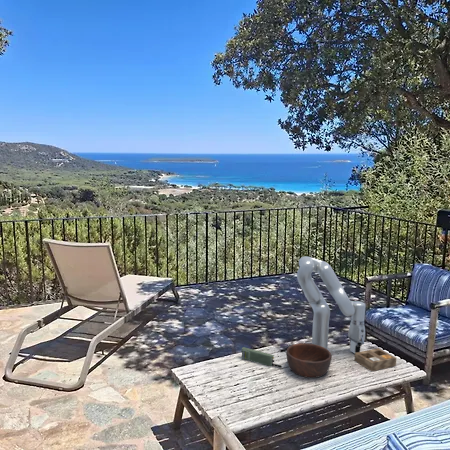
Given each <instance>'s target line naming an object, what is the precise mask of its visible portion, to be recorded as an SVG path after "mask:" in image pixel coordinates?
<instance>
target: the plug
mask: <svg viewBox="0 0 450 450" xmlns="http://www.w3.org/2000/svg"><path fill="white" fill-rule="evenodd" d="M350 344H351V346H349V350H350V352H351V353H353V354H355V353H356V352H355V349H356V346H357V345H356V341H355V340H354V339H352V338H351V343H350ZM358 344H359V342H358Z"/></svg>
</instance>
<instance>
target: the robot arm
mask: <svg viewBox="0 0 450 450" xmlns="http://www.w3.org/2000/svg"><path fill="white" fill-rule="evenodd" d="M298 266H299V267H298V269H297V273H296V279H297V282H298V284H299V287H301V290H302V292H303V294H304V296H305V298H306V299H307V301H308V303H309V305H310V306H311V308H312V312H313V320H312V331H311V332H312V334H311V344H315V345H319V346H322V347H324V348H326V349H327V350H329V351H330V352H331V350H330V349H329V348H328V346H329V331H330V329H329V326H330V325H329V324H330V318H331V317H330V316H331V309H330V306H329V304H328V303H327V301H326V299H325V298H324V296H323V293H322V292H321V290H320V289H319V287H318V285H317V284H316V283H315V281H314V279H313V277H312V273H317V274H318V275H319V277H320V278H321V280H322V282H323V284H324V286H325V287H326V289H327V291H328V292H329V294H330V296H332V298H333V299H334V301H335V302H336V304H337V306H338V308H339V310H340V311H341V313H342V314H343V315H344V316H346V317H347V318H348V317H349V318H350V317H351V320H350V323H349V327H348V334H347V337H348V339H349V343H350V346H351V338H352V339H354V340H355V341H356V345H357V346H356V349H355V352H361V347H362V345H365V344H366V343H365V341H366V327H365V316H366V303H365V302H363V301H358V300H357V301H353V300H350V298H349V297H348V294H347V293H346V291H345V289H344V287H343V285H342V284H341V282H340V280H339V278H338V276H337V275H336V273H335V271H334V269H333V268H332V266H331V265H330V264H329V263H328V262H326V261H324V260H321V259H317V258H314V257H311V256H307V255H306V256H304V255H303V256H302V257H300V258H299V260H298ZM358 342H359V344H358ZM350 346H349V347H350Z"/></svg>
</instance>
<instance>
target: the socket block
mask: <svg viewBox="0 0 450 450" xmlns="http://www.w3.org/2000/svg"><path fill="white" fill-rule="evenodd" d="M354 362H356V363H357V364H359V365H361V366H362V367H364V368H365V369H367V370H368V371H370V372H375V371H380V370H383V369H388V368H389V369H390V368H393V367H396V366H397V357H395V356H394V355H392V354H391V353H388V352H387V351H385V350H383V349H381V348H380V347H378V348H372V349H368V350H363V351H361V350H360V352H356V353H354Z"/></svg>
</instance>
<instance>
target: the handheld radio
mask: <svg viewBox="0 0 450 450" xmlns="http://www.w3.org/2000/svg"><path fill="white" fill-rule="evenodd" d="M241 359H243V360H246V361H250V362H254V363H258V364H261V365H264V366H268V367H277V368H281V369H282V365H280V364H277V363H275V354H271V353H267V352H262V351H260V350H256V349H252V348H248V347H244V346H243V347H241Z"/></svg>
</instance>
